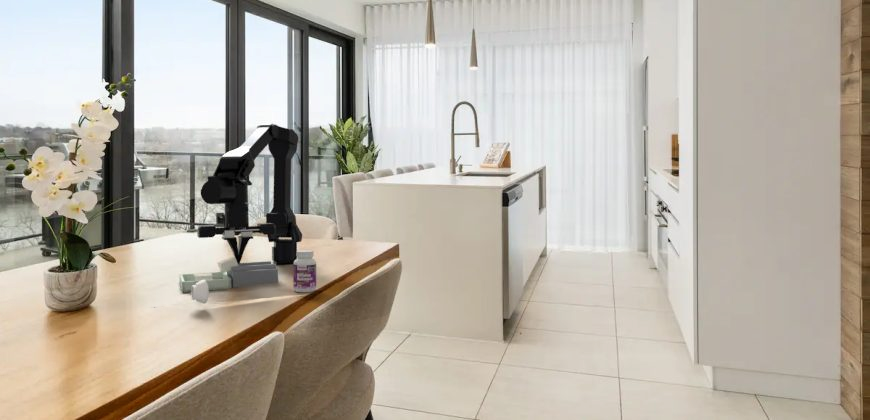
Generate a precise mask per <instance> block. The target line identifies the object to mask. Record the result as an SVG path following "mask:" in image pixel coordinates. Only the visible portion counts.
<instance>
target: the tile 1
mask: <svg viewBox="0 0 870 420" xmlns="http://www.w3.org/2000/svg"><path fill="white" fill-rule="evenodd" d="M204 273H205V274H195V273H193V274H194V281H201V280H213V279H212V274H211V273H210V272H204Z"/></svg>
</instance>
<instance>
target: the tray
mask: <svg viewBox="0 0 870 420" xmlns="http://www.w3.org/2000/svg"><path fill="white" fill-rule="evenodd" d="M205 273H206V272H198V273H195V272H194V273H183V274H179V286H180V290H181V292H182V293H191V287H192V285H195V284H196V283H197V282H199V281H194V274H205ZM209 273H211V274H212V280H206V282H207V284H208V289H209V292H210V291H221V290H231V289H232V285H231V278H230V277H229V276H228V275H227V272H225V273H222V272H220V271H214V272H213V271H212V272H210V271H209Z"/></svg>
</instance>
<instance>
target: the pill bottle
mask: <svg viewBox="0 0 870 420" xmlns="http://www.w3.org/2000/svg"><path fill="white" fill-rule="evenodd" d="M296 256H297V259H296V260H295V261H294V263H292V264H293V265H292V266H293V270H292V271H293V274H292V275H293V280H292V282H293V291H294V292H296V293H311V292H315V291H316V290H317V261H316V260H315V259H314V250H310V249H309V250H307V249H305V250H304V249H303V250H301V249H300V250H297V252H296Z"/></svg>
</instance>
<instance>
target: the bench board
mask: <svg viewBox="0 0 870 420" xmlns="http://www.w3.org/2000/svg"><path fill="white" fill-rule="evenodd" d="M226 274H227V275H228V276H229V277H230V278H231V288H240V287H250V286H258V285H266V284H275V283H276V284H277V283H279V269H278V268H277V263H272V261H271V260H268V261H250V262H249V261H248V262H240V264H238V266H233V267H231V270H230V271H227V272H226Z"/></svg>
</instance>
